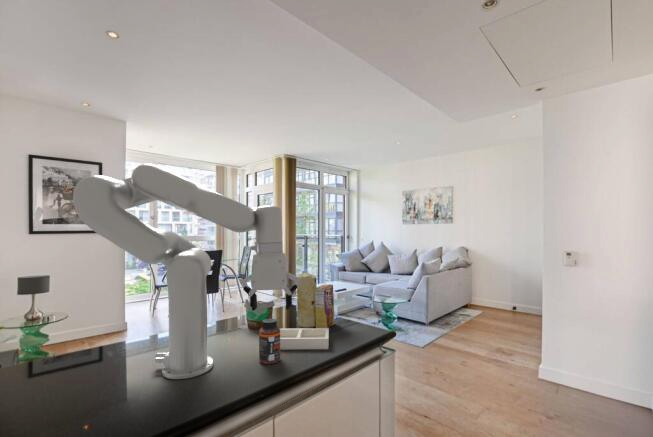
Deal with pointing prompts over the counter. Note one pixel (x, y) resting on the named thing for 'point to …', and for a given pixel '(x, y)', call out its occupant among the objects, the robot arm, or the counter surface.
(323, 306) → the candy box
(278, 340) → the supplement bottle
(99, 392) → the counter surface
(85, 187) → the robot arm
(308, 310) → the food model
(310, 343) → the holder
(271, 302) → the food container
